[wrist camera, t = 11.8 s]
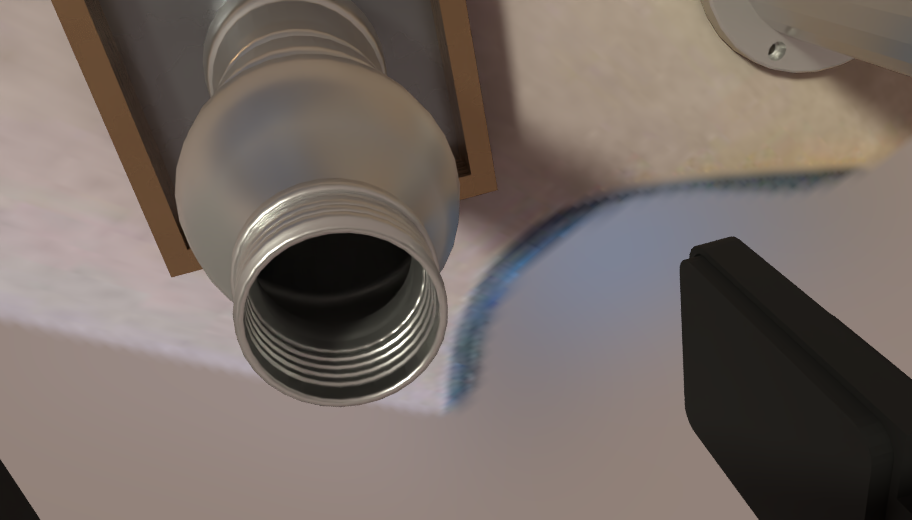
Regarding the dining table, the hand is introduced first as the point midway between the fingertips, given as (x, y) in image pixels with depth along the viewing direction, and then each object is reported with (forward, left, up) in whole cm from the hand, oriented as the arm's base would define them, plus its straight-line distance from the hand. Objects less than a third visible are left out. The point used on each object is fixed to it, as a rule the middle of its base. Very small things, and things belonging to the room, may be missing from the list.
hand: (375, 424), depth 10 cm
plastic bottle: (0, 0, -23) cm, 23 cm away
